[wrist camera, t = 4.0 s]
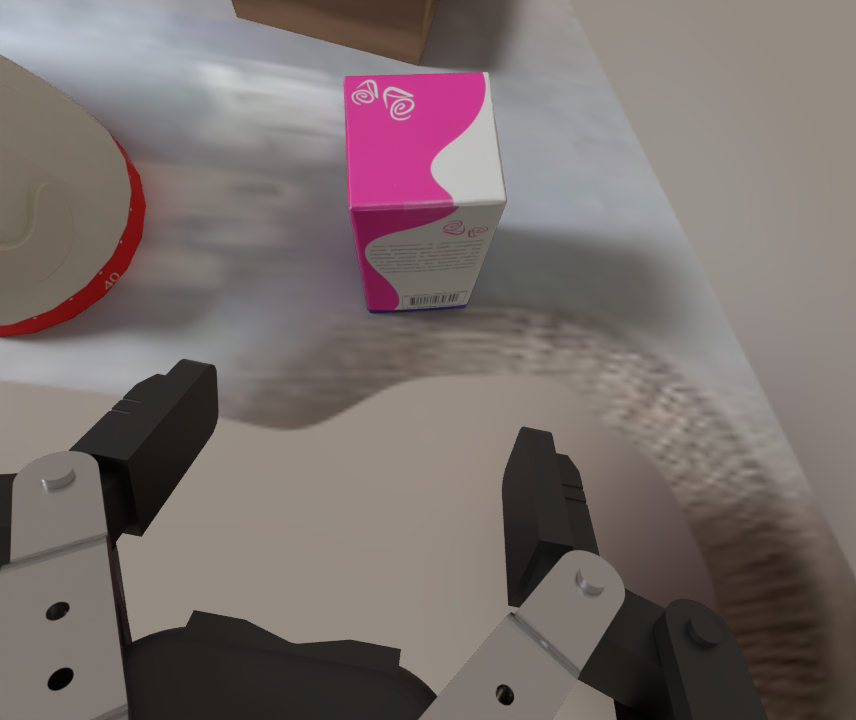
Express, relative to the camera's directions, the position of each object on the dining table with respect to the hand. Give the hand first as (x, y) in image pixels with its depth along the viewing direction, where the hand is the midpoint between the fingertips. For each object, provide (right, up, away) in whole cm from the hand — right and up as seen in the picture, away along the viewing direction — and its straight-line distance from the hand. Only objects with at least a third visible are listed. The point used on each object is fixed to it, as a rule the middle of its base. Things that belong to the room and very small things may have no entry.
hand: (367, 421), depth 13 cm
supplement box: (+1, +7, +16) cm, 18 cm away
